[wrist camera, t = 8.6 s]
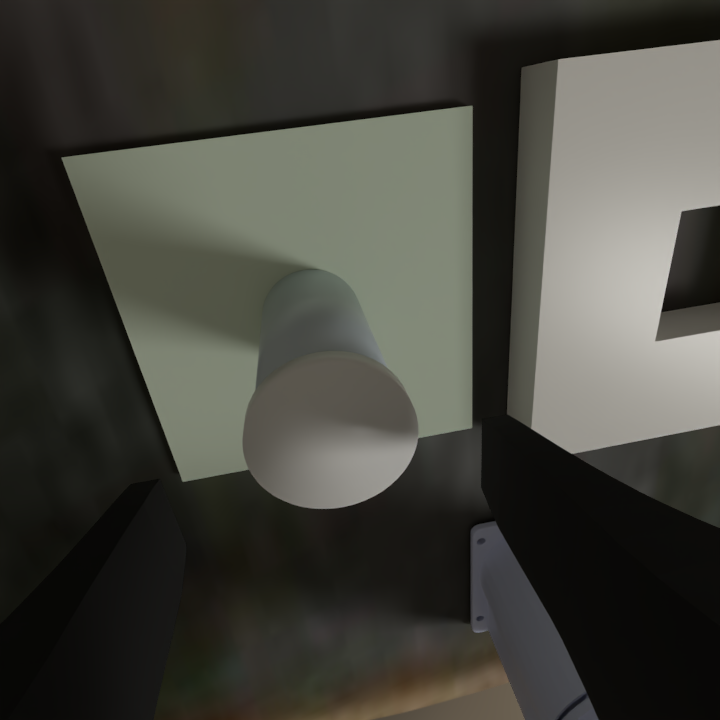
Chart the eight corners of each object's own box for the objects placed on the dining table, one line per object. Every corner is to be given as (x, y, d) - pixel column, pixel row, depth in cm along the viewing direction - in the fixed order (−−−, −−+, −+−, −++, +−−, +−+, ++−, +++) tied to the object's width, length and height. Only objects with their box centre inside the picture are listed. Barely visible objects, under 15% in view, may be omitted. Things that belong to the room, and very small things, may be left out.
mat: (468, 422, 24) (472, 427, 23) (184, 474, 22) (182, 482, 22) (467, 106, 17) (472, 105, 17) (67, 156, 16) (61, 157, 15)
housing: (788, 378, 26) (836, 402, 23) (506, 431, 24) (529, 462, 22) (918, 19, 18) (1006, 5, 16) (521, 67, 17) (558, 59, 15)
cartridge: (370, 355, 20) (423, 491, 13) (269, 373, 20) (263, 523, 13) (358, 256, 18) (413, 349, 11) (245, 273, 18) (222, 381, 11)
